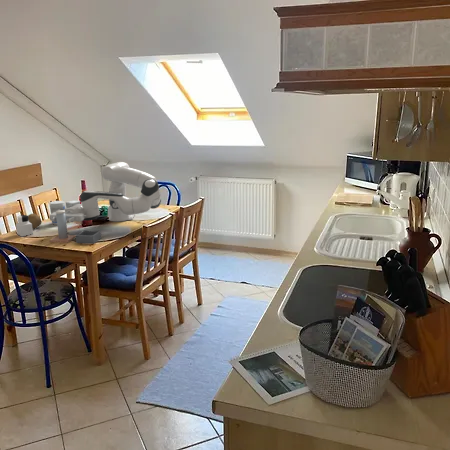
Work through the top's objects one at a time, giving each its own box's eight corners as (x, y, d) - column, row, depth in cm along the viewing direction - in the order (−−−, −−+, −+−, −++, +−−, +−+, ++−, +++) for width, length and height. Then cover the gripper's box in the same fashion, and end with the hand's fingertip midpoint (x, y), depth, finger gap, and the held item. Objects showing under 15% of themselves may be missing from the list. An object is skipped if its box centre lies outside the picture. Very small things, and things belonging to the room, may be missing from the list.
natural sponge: (23, 229, 281) (21, 214, 278) (33, 226, 289) (31, 211, 286) (34, 231, 278) (32, 215, 275) (44, 227, 286) (42, 212, 283)
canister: (61, 236, 262) (58, 210, 258) (69, 236, 262) (66, 210, 258) (57, 238, 257) (53, 212, 253) (65, 238, 257) (62, 212, 253)
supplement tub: (68, 224, 294) (66, 202, 290) (53, 226, 289) (51, 204, 285) (64, 220, 302) (62, 200, 298) (50, 223, 297) (47, 201, 293)
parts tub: (84, 237, 263) (83, 230, 262) (101, 238, 262) (100, 231, 261) (76, 242, 253) (75, 235, 252) (93, 243, 252) (93, 236, 251)
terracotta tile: (59, 236, 266) (59, 234, 266) (76, 237, 264) (76, 235, 264) (50, 241, 255) (49, 240, 255) (67, 242, 254) (67, 240, 254)
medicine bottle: (28, 232, 276) (26, 213, 272) (33, 234, 271) (30, 215, 267) (17, 234, 271) (14, 215, 268) (21, 236, 266) (18, 217, 263)
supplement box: (76, 217, 311) (74, 200, 308) (82, 218, 307) (81, 201, 303) (67, 219, 305) (65, 201, 302) (73, 221, 301) (71, 203, 298)
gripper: (88, 220, 268) (78, 226, 255) (57, 219, 271) (45, 225, 258) (87, 210, 267) (76, 215, 254) (56, 209, 270) (44, 214, 256)
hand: (60, 220), depth 256 cm, fingers open, 8 cm apart
